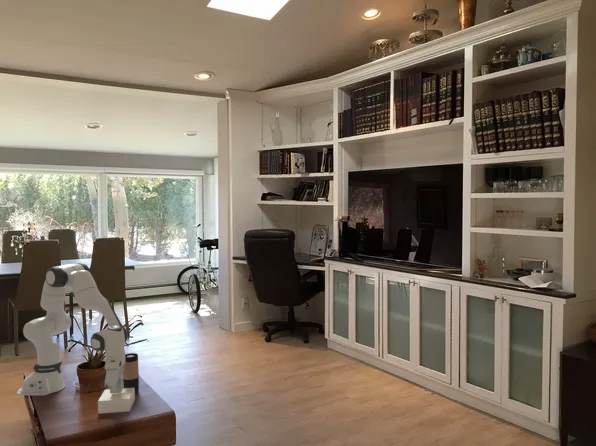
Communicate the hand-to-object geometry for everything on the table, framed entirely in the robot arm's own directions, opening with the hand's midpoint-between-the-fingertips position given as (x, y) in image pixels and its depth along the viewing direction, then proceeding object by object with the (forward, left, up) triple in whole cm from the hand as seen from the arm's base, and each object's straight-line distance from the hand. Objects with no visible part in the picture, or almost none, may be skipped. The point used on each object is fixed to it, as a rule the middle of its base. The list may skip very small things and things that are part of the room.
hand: (116, 387), depth 236 cm
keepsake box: (0, 0, -9) cm, 9 cm away
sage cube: (0, 0, -2) cm, 2 cm away
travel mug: (+4, +15, -9) cm, 18 cm away
